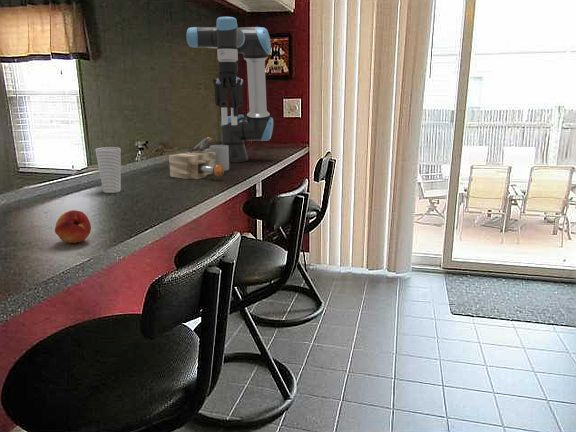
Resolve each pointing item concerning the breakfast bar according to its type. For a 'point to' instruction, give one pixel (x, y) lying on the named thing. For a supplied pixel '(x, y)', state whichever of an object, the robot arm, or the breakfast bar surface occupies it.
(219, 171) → the pin
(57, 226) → the fruit
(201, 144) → the plate
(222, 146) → the mug
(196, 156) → the block
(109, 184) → the cup
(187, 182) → the breakfast bar surface
